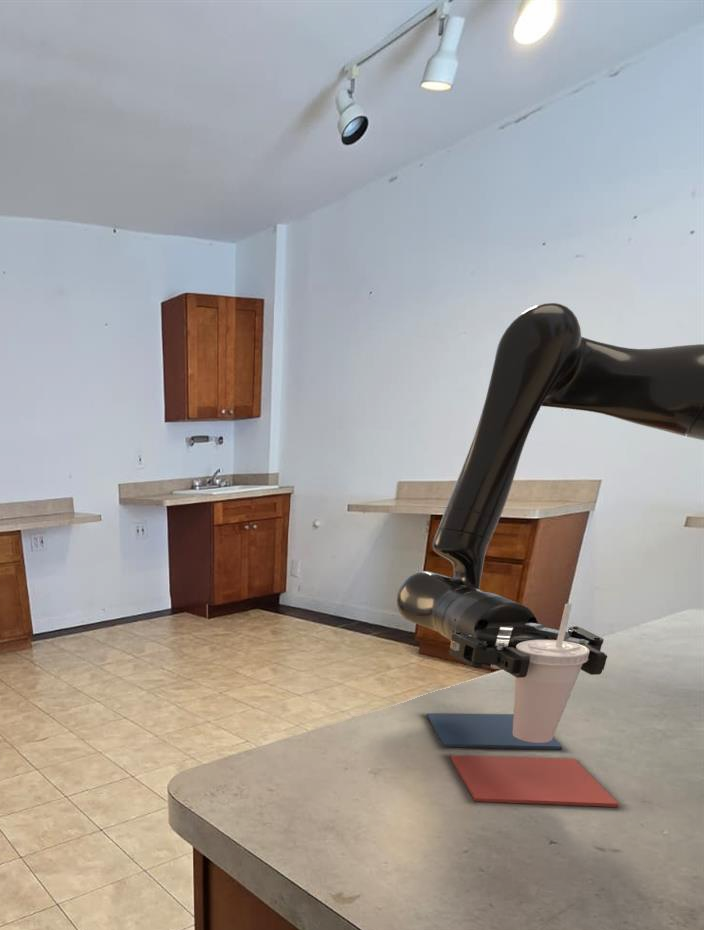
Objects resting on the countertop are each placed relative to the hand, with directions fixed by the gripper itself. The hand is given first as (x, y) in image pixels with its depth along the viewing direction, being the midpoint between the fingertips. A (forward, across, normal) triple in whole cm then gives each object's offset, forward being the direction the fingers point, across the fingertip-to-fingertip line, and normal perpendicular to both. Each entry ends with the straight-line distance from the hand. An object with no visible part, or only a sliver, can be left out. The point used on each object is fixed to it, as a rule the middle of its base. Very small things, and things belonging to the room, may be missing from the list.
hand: (562, 666), depth 62 cm
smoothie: (-2, 0, +9) cm, 9 cm away
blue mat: (-16, +2, +14) cm, 21 cm away
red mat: (-2, 0, +13) cm, 13 cm away
